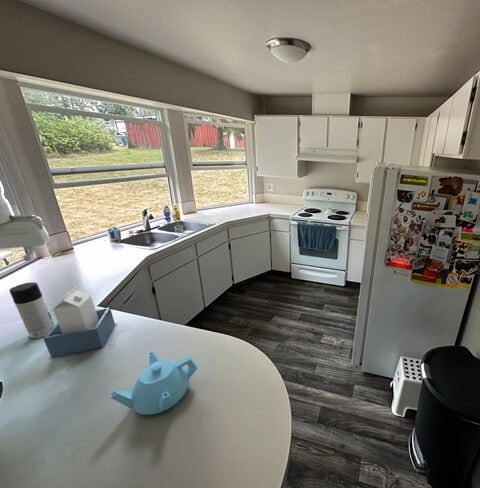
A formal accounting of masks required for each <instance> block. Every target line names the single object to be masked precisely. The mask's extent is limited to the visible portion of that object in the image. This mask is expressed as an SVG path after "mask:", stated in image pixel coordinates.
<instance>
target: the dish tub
mask: <svg viewBox="0 0 480 488" xmlns="http://www.w3.org/2000/svg"><path fill="white" fill-rule="evenodd" d="M95 310H96V313H97V316H98V319H99V322H98V323H97V325H96V326H95V328H92V329H86V330H81V331H75V332H70V333H64V334H62V331H61V329H60V326H59V324H58V322H56V324H54V325H55V326H54V327H53V328H52V329H51V330H50V332H49V333H48V334H47V335H46V336H44V337H42V338H43V342H44V344H45V346H46V348H47V349H46V350H47V351H48V353H49V355H50V358H58V357H63V356H67V355H71V354H78V353H82V352H86V351H91V350H96V349H101V348H103V347H104V345H105V344H106V342H107V340H108V338H109V336H110V335H111V333H112V331H113V330H114V328H115V325H116V322H115V319H114V316H113V312H112V309H111V307H105V308H104V307H103V308H99V309H95Z"/></svg>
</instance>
